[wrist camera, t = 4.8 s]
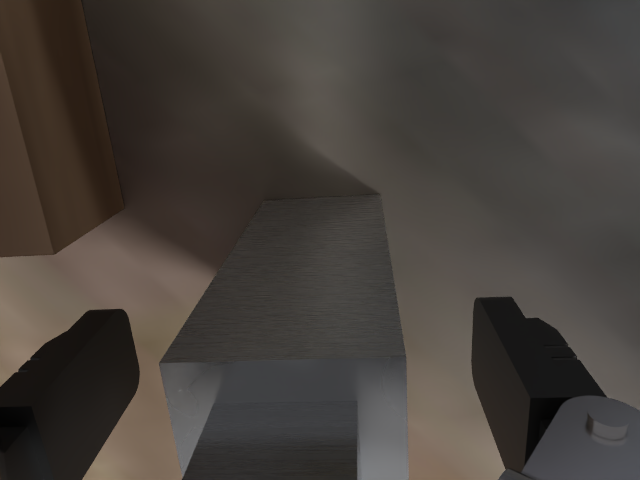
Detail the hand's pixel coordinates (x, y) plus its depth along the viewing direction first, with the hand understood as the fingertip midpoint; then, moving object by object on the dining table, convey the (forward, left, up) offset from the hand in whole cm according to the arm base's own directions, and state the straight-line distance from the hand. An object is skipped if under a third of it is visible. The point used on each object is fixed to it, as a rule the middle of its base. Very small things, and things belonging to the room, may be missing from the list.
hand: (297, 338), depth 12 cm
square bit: (0, 0, -7) cm, 7 cm away
